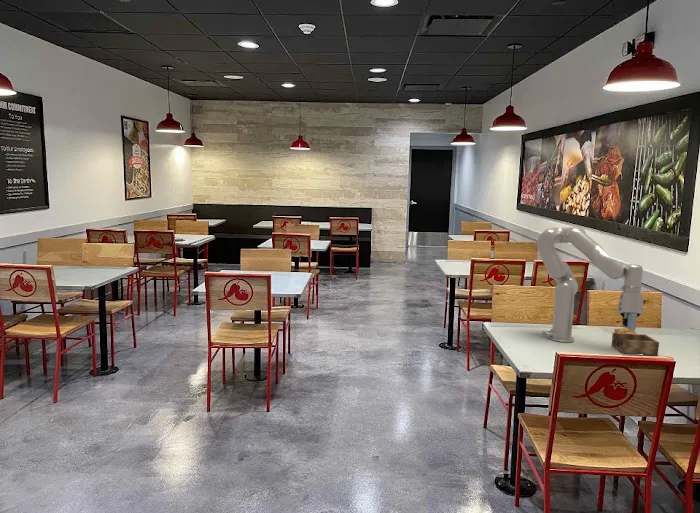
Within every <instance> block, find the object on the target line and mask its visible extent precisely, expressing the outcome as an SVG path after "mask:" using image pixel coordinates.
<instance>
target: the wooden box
mask: <svg viewBox="0 0 700 513" xmlns="http://www.w3.org/2000/svg"><path fill="white" fill-rule="evenodd" d="M612 346H613V349H615V350H616V349H617V351H618V352H619V353H621V354H622V353H623V354H622V355H626V354H643V355H641V357H642V356H645V357H646V356H647V357H658V355H659V348H660V347H659V346H660V342H659V341H657V340H655V339H654V338H653V337H651V336H649V335H647V334H639V333H637V334H626V333H615V332H612V336H611V347H612Z"/></svg>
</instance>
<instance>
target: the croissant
mask: <svg viewBox="0 0 700 513" xmlns="http://www.w3.org/2000/svg"><path fill="white" fill-rule="evenodd" d="M614 333H626V334H638V333H636V330H629V329H627V328H625V327H624V326H622V327H620V328H615V329H614Z"/></svg>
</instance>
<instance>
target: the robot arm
mask: <svg viewBox="0 0 700 513" xmlns="http://www.w3.org/2000/svg"><path fill="white" fill-rule="evenodd" d="M586 232H587V231H586V230H585V229H584V228H582V227H580V226H571V227H563V226H562V227H550V228H546V229H545V230H543V231H542V232H541V233H540V235H539V237H538V238H537V242H536V247H537V251H538V254H539V256H540V259H541V260H542V262H543V265H544V266H545V269H546V272H547V273H548V276H549V277H550V278H551V279H553V280H555V282H556V286H555V289H554V302H553V303H554V305H553V316H552V317H553V318H552V328H550V330H542V335H546V336H548V339H549V340H551V341H554V342H558V341H559V342H558V343H573V342H575V338H574V337H572V332H573V331H572V330H573V322H574V321H573V320H574V319H573V318H574V310H575V295H576V294H577V293H578V290H579V285H578V281H577V280H576V277H575V276H574V274H573V272H572V270H571V267H570V266H569V264H568V263H567V262H566V261H564V260H562V259H561V257H560V255H559V253H558V251H557V249H556V247H555V244H571V245H572V246H573V247H574V248H576V249H577V250H578V251H579V252H580V253H581V254H582V255H584V256H585V257H586V258H587V259H588V260H589V261H590V262H591V263H592V264H593V265H594V266H595V267H597V269H598V270H600V271H601V273H603V274H604V275H606V276H607V277H608V278H610V279H612V280H618V279H620V278H624V279H623V286H620V290H622V291H621V293H620V297H619V299H618V300H619V301H618V308H617V309H616V311H615V313H617V314H619V315H620V316H621V317H622V324H623V325H624V326H626V327H627V323H628V319H627V314H628V313H635V314H637V318H638V317H640V316H641V315H644V314H645V312H644V296H643V292H641V290H642V282H643V281H642V279H643V271H644V270H643V269H644V268H643V266H642V265H640V264H635V263H633V264H627V263H622V262H618V261H617V262H616V261H614V260H613V259H612V258H611V257H610V256H609V255H608V254H607V253H606V252H605V251H604V249H603V247H602V246H601V245H600V243H598V242H597V241H596V240H595V239H593V238H592V237H591V236H589V235H588V234H587V233H586ZM624 326H623V327H624Z"/></svg>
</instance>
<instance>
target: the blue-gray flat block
mask: <svg viewBox="0 0 700 513" xmlns="http://www.w3.org/2000/svg"><path fill="white" fill-rule="evenodd" d="M627 319H628V323H627V327H626V326H624V325H623V323H622V327H625V328H627V329H629V330H634V331H636V328H637V319H638V317H637V314H635V313H628V314H627Z"/></svg>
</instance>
